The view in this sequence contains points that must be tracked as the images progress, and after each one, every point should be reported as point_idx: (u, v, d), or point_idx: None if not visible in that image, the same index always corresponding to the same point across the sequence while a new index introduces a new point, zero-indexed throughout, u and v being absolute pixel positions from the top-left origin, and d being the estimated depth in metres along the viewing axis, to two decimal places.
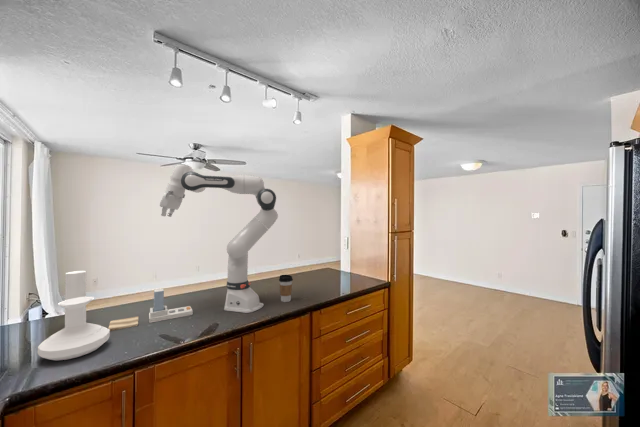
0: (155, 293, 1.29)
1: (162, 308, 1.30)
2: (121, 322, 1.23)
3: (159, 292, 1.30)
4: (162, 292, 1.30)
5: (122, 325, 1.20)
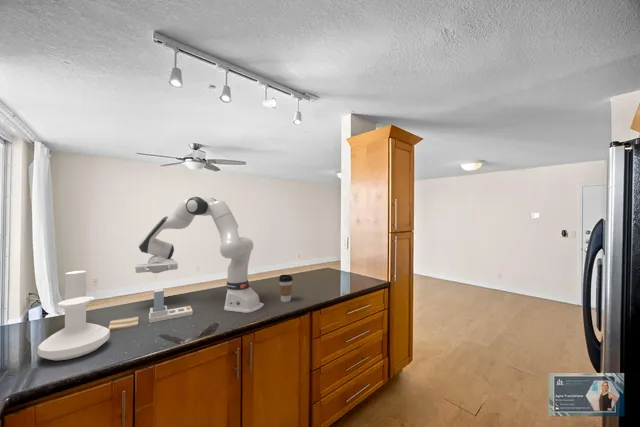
0: (155, 293, 1.29)
1: (162, 308, 1.30)
2: (121, 322, 1.23)
3: (159, 292, 1.30)
4: (162, 292, 1.30)
5: (122, 325, 1.20)
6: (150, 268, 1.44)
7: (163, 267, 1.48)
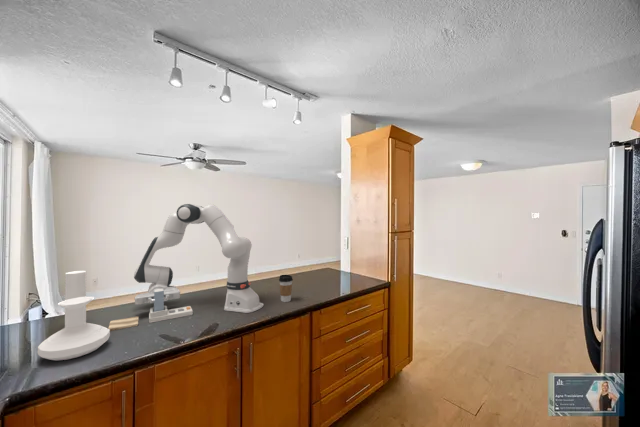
0: (155, 293, 1.29)
1: (162, 308, 1.30)
2: (121, 322, 1.23)
3: (159, 292, 1.30)
4: (162, 292, 1.30)
5: (122, 325, 1.20)
6: (150, 298, 1.33)
7: (164, 297, 1.37)
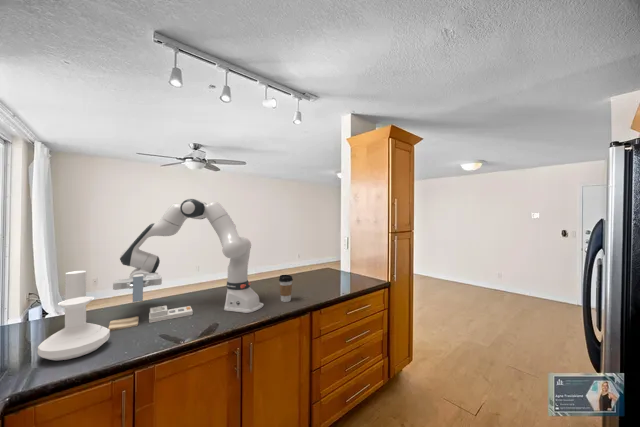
0: (134, 278, 1.24)
1: (141, 294, 1.26)
2: (121, 322, 1.23)
3: (138, 277, 1.25)
4: (141, 277, 1.26)
5: (122, 325, 1.20)
6: None
7: (145, 283, 1.32)
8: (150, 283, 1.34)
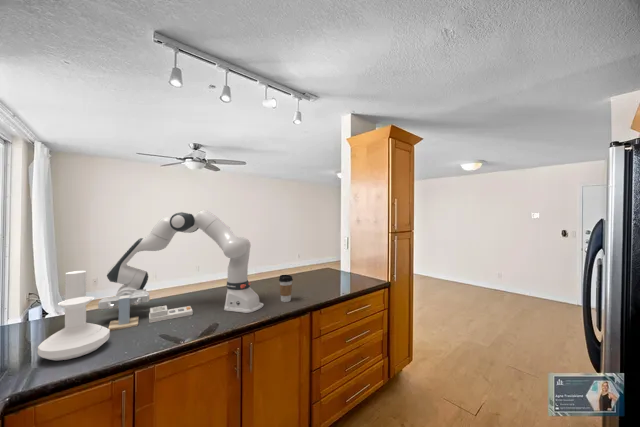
0: (120, 300, 1.21)
1: (128, 316, 1.23)
2: None
3: (124, 299, 1.22)
4: (128, 299, 1.23)
5: (122, 325, 1.20)
6: (116, 303, 1.26)
7: (131, 301, 1.29)
8: None
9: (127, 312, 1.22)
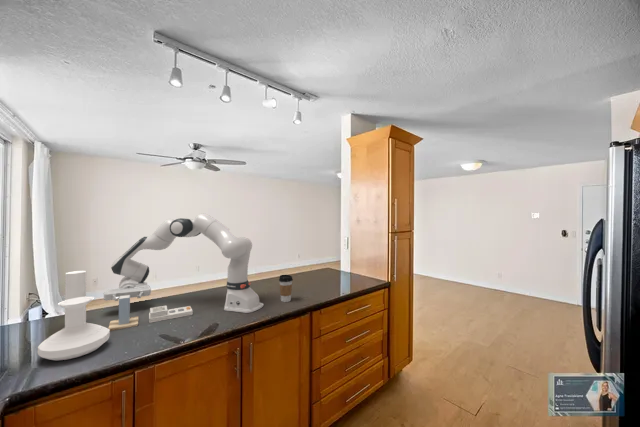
0: (120, 300, 1.21)
1: (128, 316, 1.23)
2: None
3: (124, 299, 1.22)
4: (128, 299, 1.23)
5: (122, 325, 1.20)
6: (120, 295, 1.37)
7: (134, 294, 1.40)
8: (139, 294, 1.42)
9: (127, 312, 1.22)
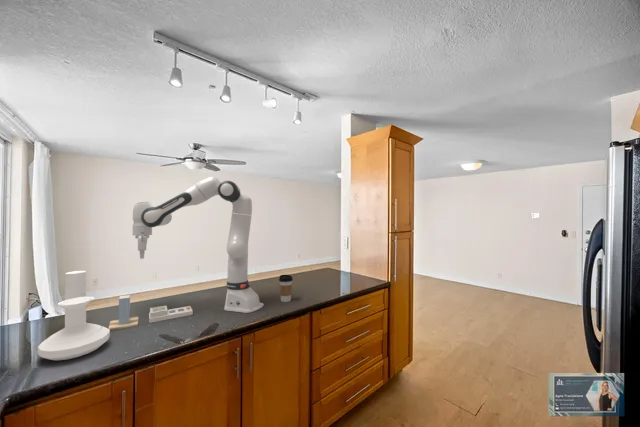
0: (120, 300, 1.21)
1: (128, 316, 1.23)
2: None
3: (124, 299, 1.22)
4: (128, 299, 1.23)
5: (122, 325, 1.20)
6: None
7: None
8: None
9: (127, 312, 1.22)
